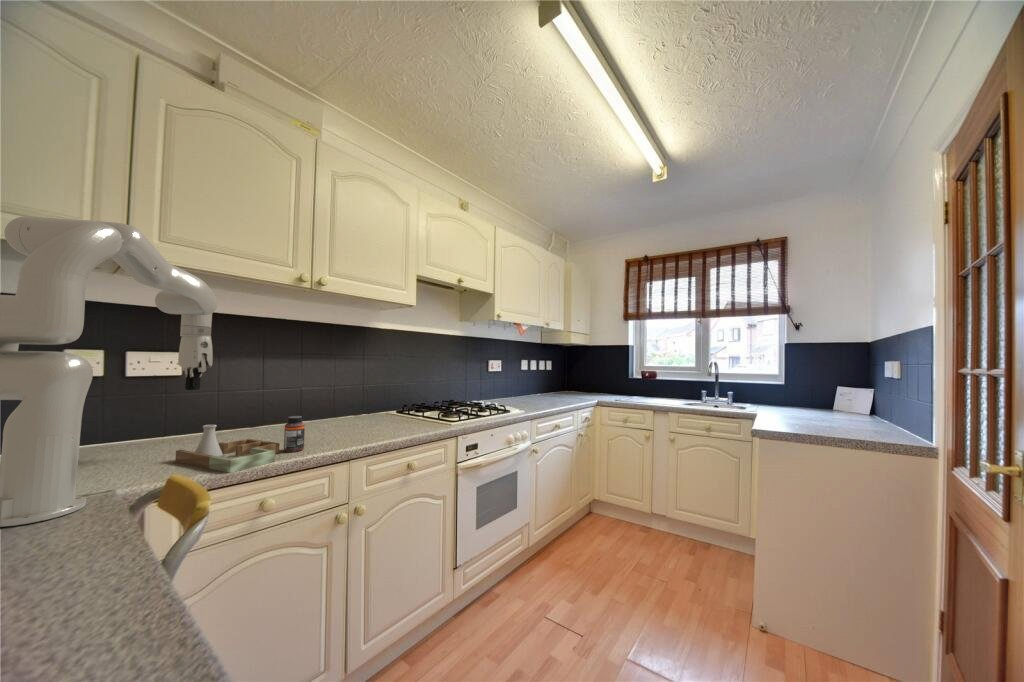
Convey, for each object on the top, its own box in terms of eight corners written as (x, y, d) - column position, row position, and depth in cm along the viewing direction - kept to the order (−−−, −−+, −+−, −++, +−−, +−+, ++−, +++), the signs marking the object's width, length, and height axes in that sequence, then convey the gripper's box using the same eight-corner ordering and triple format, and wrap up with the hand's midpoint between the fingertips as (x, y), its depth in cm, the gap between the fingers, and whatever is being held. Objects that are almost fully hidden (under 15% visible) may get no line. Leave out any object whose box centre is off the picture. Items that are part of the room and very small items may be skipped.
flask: (205, 462, 109) (207, 428, 110) (185, 460, 110) (187, 426, 111) (228, 456, 116) (230, 424, 117) (209, 454, 118) (211, 422, 118)
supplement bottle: (290, 448, 128) (292, 415, 128) (307, 448, 128) (309, 415, 128) (279, 452, 122) (281, 417, 122) (296, 452, 122) (298, 418, 122)
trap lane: (230, 472, 100) (230, 460, 100) (175, 461, 109) (175, 450, 109) (296, 455, 118) (296, 445, 118) (244, 447, 127) (245, 438, 127)
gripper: (223, 333, 120) (220, 390, 119) (195, 333, 125) (192, 387, 125) (196, 331, 113) (192, 391, 112) (168, 331, 118) (164, 389, 118)
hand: (192, 389), depth 118 cm, fingers closed
